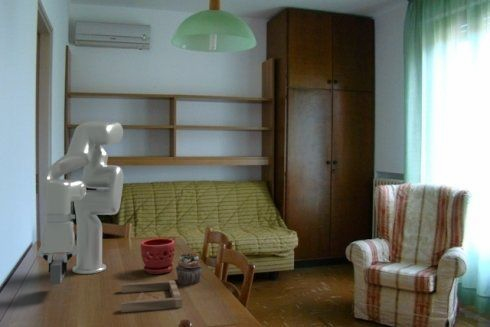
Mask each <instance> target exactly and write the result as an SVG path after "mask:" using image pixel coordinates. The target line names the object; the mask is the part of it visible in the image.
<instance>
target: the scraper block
mask: <svg viewBox="0 0 490 327" xmlns="http://www.w3.org/2000/svg"><path fill="white" fill-rule="evenodd" d="M62 262H63V256H55V257H54V258H53V262H52V264H51V265H50V272H49V285H61V283H62V281H63V279H64V277H65V274H66V272H65V273H64V275H62Z"/></svg>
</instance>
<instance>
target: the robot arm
mask: <svg viewBox="0 0 490 327" xmlns="http://www.w3.org/2000/svg"><path fill="white" fill-rule="evenodd" d="M123 137H124V129H123V125H122V123H120V122H117V121H87V122H83V123H82V124H79V125H78V126H76V128H75V130H74V132H73V135H72V138H71V141H70V143H69V146H68V149H67V152H66V154H65V155H63V156H61V157H60V158H59V159H57V160H56V161H55V162H53V163H52V164H51V166H50V167H49V168H48V169H47V172H46V174H45V176H44V179H43V182H42V185H41V195H42V198H44V199H45V222H43V224H42V231H41V239H40V240H41V241H40V247H39V249H38V250H37V252H36V256H37V257H41V258H43V259H44V260H45V261H46V262H47V263H48V273H50V265H51V264H52V262H53V260H54V254H62V257H63V262H62V275H64V273H65V274H66V272H67V271H68V261H69V260H70V259H71V258H72V257H74V256H76V265H74V266H73V267H72V270H71V271H72V272H73V273H75V274H80V275H87V274H88V275H89V274H96V273H102V272H104V271H105V270H106V269H107V265H106V264H104V263H103V224H102V221H101V220H100V218H99V217H98V215H101V216H102V215H103V216H106V215H109V216H112V215H116V214H118V213H119V211H120V208H121V203H122V195H123V188H124V180H125V179H124V178H125V177H124V176H125V175H124V171H123V169H122V168H121V167H120V166H119V165H114V164H113V165H112V164H108V158H109V157H108V156H109V155H108V153H107V151H106V150H105V148H104V147H103V146H106V147H110V146H113V145H116V144H119V143H120V142H121V141H122V139H123ZM80 168H83V172H82V180H80V179H67V178H66V179H64V178H63V179H61V177H63V176H64V175H66V174H67V173H70V172H73V171H76V170H78V169H80ZM87 188H88V190H87ZM90 189H91V190H90ZM92 189H93V190H92ZM97 189H103V190H97ZM106 189H107V190H106ZM71 202H73V205H74V211H75V212H74V213H75V214H73V213H72V210H71V209H72V208H71V207H72V206H71V205H72V204H71ZM71 220H76V232H75V226H74V222H73V221H71ZM75 234H76V235H75ZM64 276H65V275H64Z"/></svg>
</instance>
